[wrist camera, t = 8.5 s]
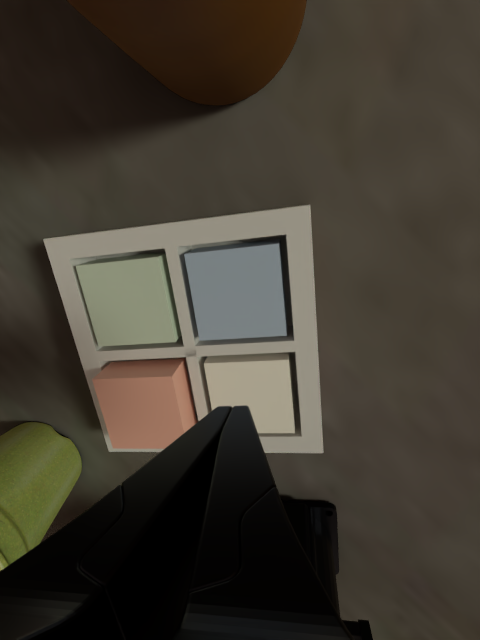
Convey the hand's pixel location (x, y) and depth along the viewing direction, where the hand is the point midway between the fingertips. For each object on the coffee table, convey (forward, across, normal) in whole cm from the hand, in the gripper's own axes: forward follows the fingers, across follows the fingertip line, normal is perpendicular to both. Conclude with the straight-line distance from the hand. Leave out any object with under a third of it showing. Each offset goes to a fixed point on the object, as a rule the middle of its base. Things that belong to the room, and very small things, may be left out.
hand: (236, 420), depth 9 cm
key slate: (+10, +1, -1) cm, 10 cm away
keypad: (+10, +4, +1) cm, 11 cm away
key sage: (+10, +7, -1) cm, 12 cm away
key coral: (+8, +7, +4) cm, 12 cm away
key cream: (+10, +1, +4) cm, 11 cm away
